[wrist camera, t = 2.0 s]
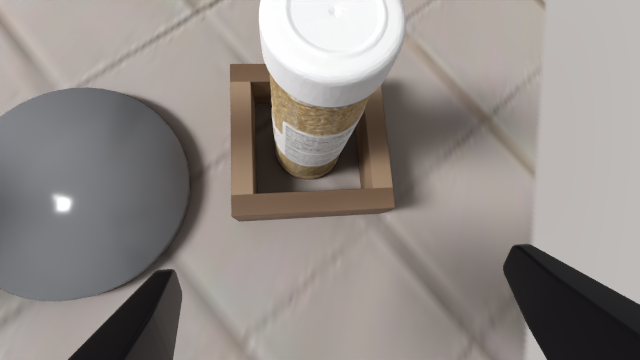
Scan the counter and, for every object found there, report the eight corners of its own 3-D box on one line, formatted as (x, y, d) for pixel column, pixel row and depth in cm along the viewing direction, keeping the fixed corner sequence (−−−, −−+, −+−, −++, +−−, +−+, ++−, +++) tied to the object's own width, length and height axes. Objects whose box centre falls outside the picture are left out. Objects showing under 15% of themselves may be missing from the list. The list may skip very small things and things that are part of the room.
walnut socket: (380, 213, 22) (395, 207, 19) (239, 221, 21) (231, 216, 18) (367, 86, 24) (378, 63, 21) (237, 87, 23) (230, 64, 20)
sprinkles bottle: (285, 110, 23) (282, -74, 10) (347, 128, 23) (423, -30, 10) (265, 171, 22) (235, 52, 9) (331, 189, 22) (393, 98, 9)
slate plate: (128, 332, 19) (120, 336, 18) (-81, 250, 19) (-101, 250, 18) (224, 138, 22) (221, 133, 21) (44, 66, 22) (33, 57, 21)
